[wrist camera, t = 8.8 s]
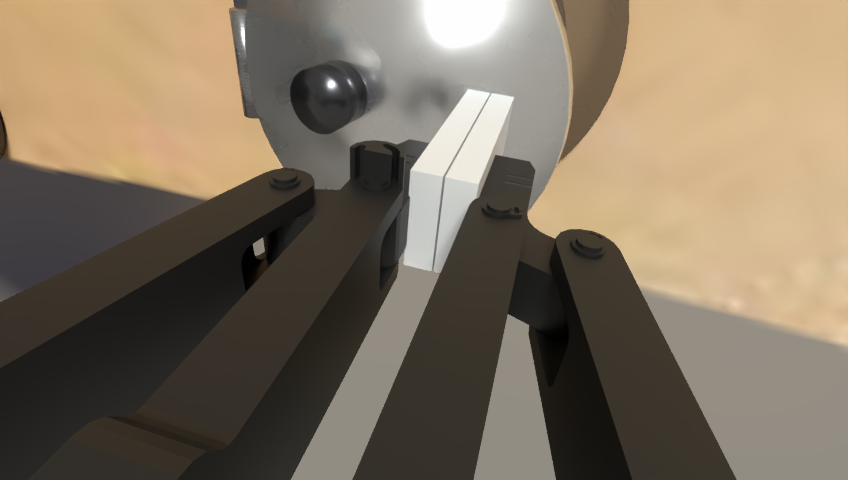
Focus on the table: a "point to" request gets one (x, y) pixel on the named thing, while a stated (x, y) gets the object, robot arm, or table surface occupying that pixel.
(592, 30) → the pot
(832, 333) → the table surface
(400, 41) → the lid
